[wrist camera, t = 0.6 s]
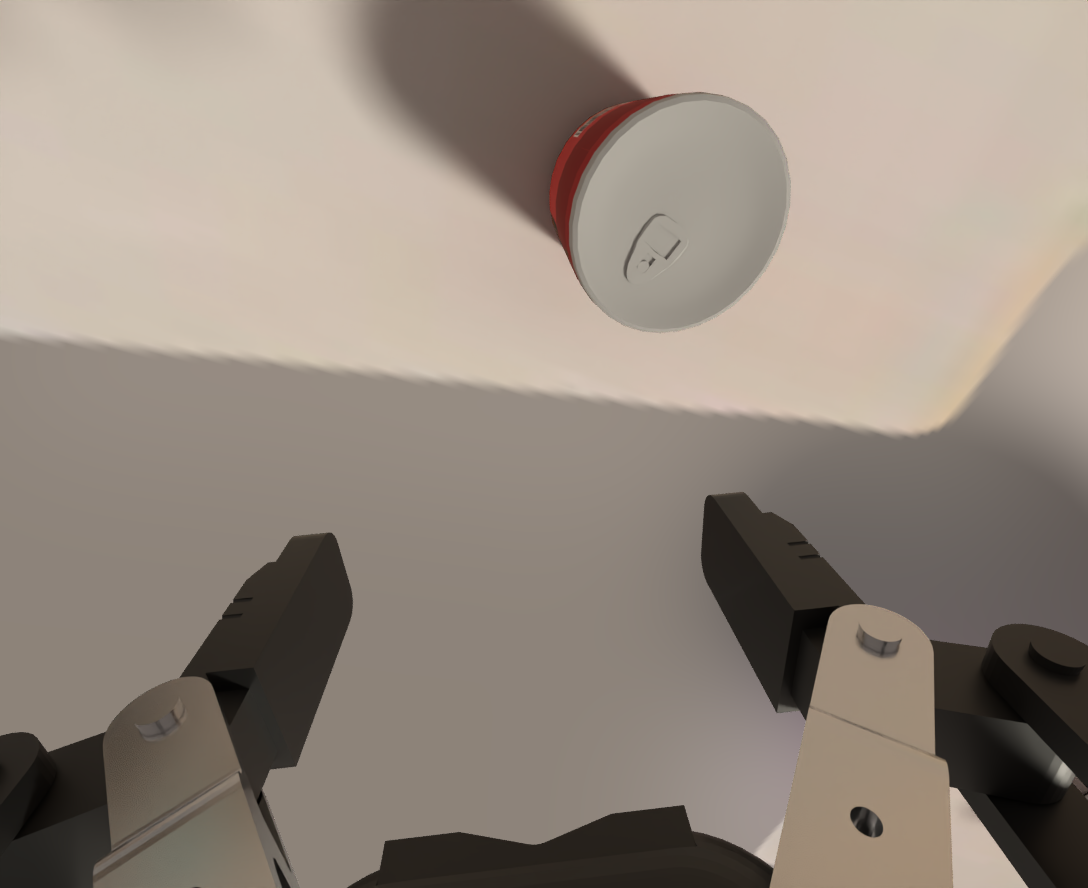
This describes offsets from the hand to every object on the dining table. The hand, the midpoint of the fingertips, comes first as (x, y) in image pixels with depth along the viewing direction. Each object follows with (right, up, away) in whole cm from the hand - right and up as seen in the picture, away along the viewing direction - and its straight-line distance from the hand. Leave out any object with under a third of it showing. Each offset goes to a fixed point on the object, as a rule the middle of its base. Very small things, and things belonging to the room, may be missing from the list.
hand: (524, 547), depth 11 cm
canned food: (+5, +16, +16) cm, 23 cm away
